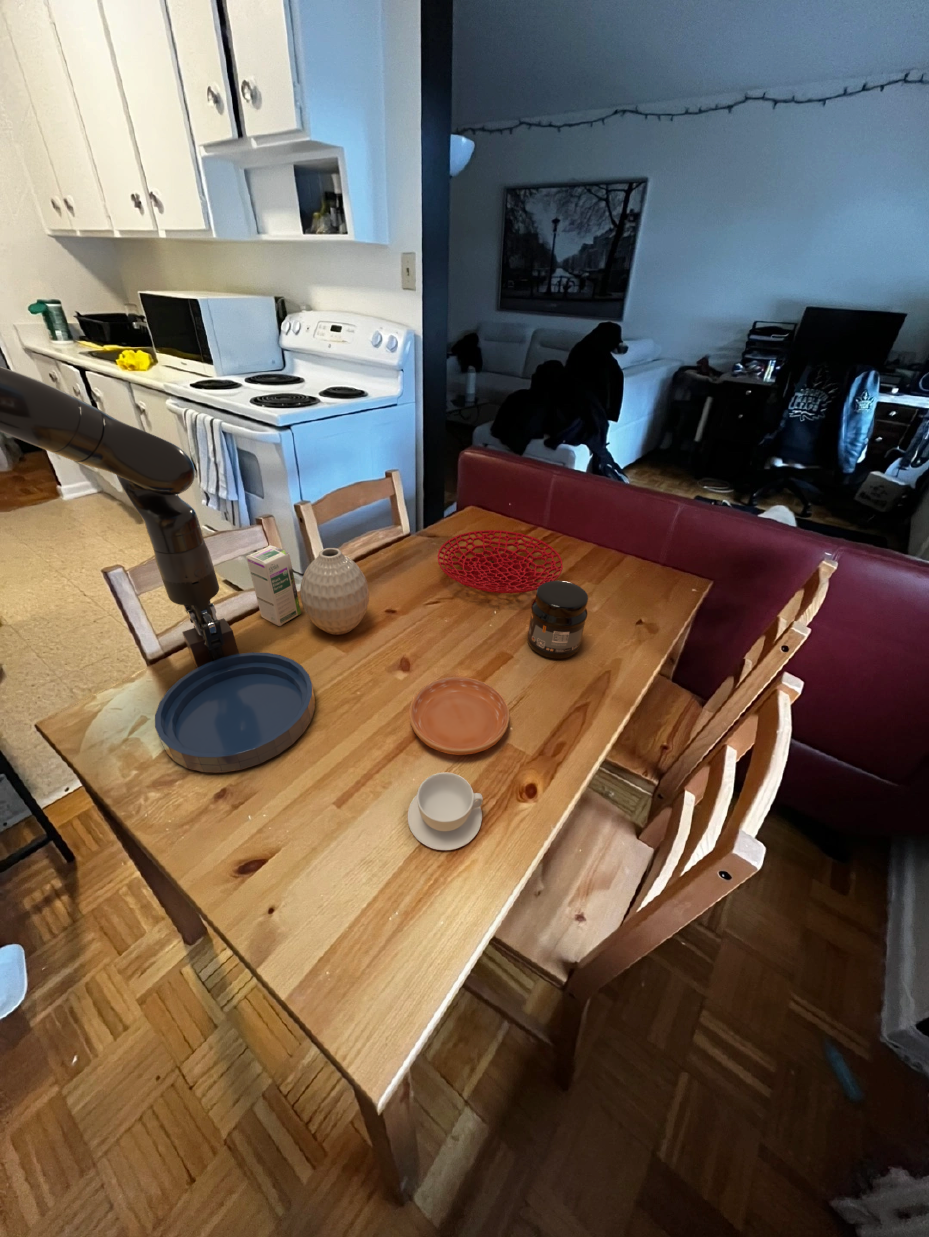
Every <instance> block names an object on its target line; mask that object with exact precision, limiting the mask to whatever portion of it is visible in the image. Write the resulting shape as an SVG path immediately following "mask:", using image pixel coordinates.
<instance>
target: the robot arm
mask: <svg viewBox="0 0 929 1237" xmlns="http://www.w3.org/2000/svg"><path fill="white" fill-rule="evenodd" d="M0 432H1V433H4V434H6V435H8V436H11V437H13V438H16V439H18V440H21V441H23V442H25V443H27V444H30V445H33V446H35V447H38V448H40V449H42V450H45V451H48V452H50V453H53V454H55V455H57V456H60V457H63V458H65V459H68V460H71V461H73V462H76V463H78V464H81V465H85V466H86V467H87V466H88V467H91V468H94V469H99V470H102V471H105V472H108V473H111V474H113V475H115V476H116V477H117V480H118V481H119V483H120V485H121V486H122V489H123V491H124V492H125V494H126V496H127V497H128V499H129V500H130V502H131V504H132V506H133V507H134V509H135V510H136V512H137V513H138V515H139V516H140V518H141V519H142V521H143V523H144V525H145V529H146V533H147V534H148V538H149V541H150V543H151V546H152V549H153V553H154V559H155V563H156V567H157V569H158V571H159V574H160V577H161V580H162V583H163V585H164V586H163V587H165V588H164V589H165V592H166V594H167V597H168V600H170V601H171V602H172V603H174V604H176V605H179V606H183V609H184V611H185V612H186V614H187V617H188V619H189V622H190V623H191V624H193V628H196V631H197V633H198V634H199V635H200V636H202V637H203V640H204V642H205V643H204V644H205V646H206V647H207V650H208V653H209V656H210V659H211V661H214V660H217V659H220V658H223V657H225V655H224V652H223V649H222V645H225V644H224V640H223V635H222V630H221V626H220V624H221V623H220V621H218V620H219V619H218V617H217V610H216V607H215V603H213V602H211V600H212V599H213V598H215V597H216V596H217V595H218V593H219V591H220V584H219V581H218V577H217V574H216V571H215V570H216V569H215V566H214V563H213V560H212V557H211V552H210V550H209V548H208V545H207V543H206V541H205V538H204V535H203V531H202V528H201V523H200V520H199V517H198V515H197V512H196V510H195V509H194V507H193V506H192V505H190V504H189V503H188V502H186V501H185V500H183V499H182V498H181V496H179V495H180V494H182V493H185V492H186V491H188V489H190V488H191V487H192V485H193V484H194V481H195V478H196V477H195V476H196V475H195V474H196V471H195V467H194V463H193V461H192V459H191V458H190V457H189V454H187V453H186V452H185V450H183V449H182V448H180V446H178V445H176V444H175V443H172V442H171V441H168V440H167V439H164V438H161V437H159V436H157V435H154V434H152V433H150V432H148V431H145V430H143V429H141V428H138V427H135V426H134V425H133V426H132V425H130V424H127V423H125V422H123V421H121V420H118V419H117V418H115V417H113V416H111V415H109V414H107V413H106V412H104V411H103V410H101V409H99V408H97V407H95V406H94V405H92V404H89V403H87V402H86V401H84V400H82V399H80V398H78V397H76V396H74V395H71V394H70V393H67V392H65V391H63V390H61V389H60V388H57V387H55V386H53V385H50V384H48V383H46V382H43V381H41V380H38V379H36V378H33V377H31V376H28V375H25V374H23V373H20V372H17V371H14V370H11V369H8V368H5V367H3V366H0ZM199 626H200V627H202V629H200V627H199Z"/></svg>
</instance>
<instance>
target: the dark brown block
mask: <svg viewBox="0 0 929 1237" xmlns="http://www.w3.org/2000/svg"><path fill="white" fill-rule="evenodd" d="M218 621H220V623H221V624H220V626H221V630H222V635H223V640H224V644H225V645H222V649H223V652H224V655H225V657H227V656H231V655H236V654H240V651H239V648H238V644H237V640H236V638H235V633H234V630H233V628H232V627H231V626H230V625H229V623H228V621H227V620H226V619H225V618H224V617H223V618H220V619H218ZM199 627H200V626H199ZM200 629H202V627H200ZM181 633H182V636H183V639H184V641H185V645H186V647H187V649H188V652H189V655H190V659H191V661H192V662H193V664H194V665H195V667H196V669H197V668H198V667H200V666H202V665H204V664H206V663H209V662H212V661H211V659H210V656H209V653H208V650H207V647H206V646H205V644H204V643H205V642H204V640H203V637H202V636H200V635H199V634H198V633H197V631H196V628H194V627H193V628H189V629H186V630H183V631H182V632H181Z"/></svg>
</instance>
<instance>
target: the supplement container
mask: <svg viewBox="0 0 929 1237" xmlns="http://www.w3.org/2000/svg"><path fill="white" fill-rule="evenodd" d="M535 591H536V592H535V597H534V599H533V601H532V603H531V607H530V609H531V610H530V611H531V612H530V618H529V624H528V625H529V626H528V630H527V638H526V640H527V643H528V645H529V647H530V648H531V649H532V650H533V651H534V652H535V653H537V654H539V655H541V656H543V657H546V658H550V659H560V660H561V659H567V658H569V657H571V656H574V655H575V654H576V653H577V652H578V651H579V650H580V648H581V643H582V636H583V633H584V628H585V625H586V621H587V618H588V608H587V606H588V602H589V595H588V593H587V591H585V589H584V588H582V587H581V586H579V585H578V584H576V583H573V582H569V581H565V580H555V581H549V582H546V583H543V584H541V585H540V586H539V587H538V588H537V590H535Z"/></svg>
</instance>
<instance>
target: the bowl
mask: <svg viewBox="0 0 929 1237" xmlns="http://www.w3.org/2000/svg"><path fill="white" fill-rule="evenodd" d="M495 534H499V535H495ZM502 534H503V535H504V534H505V536H502ZM472 535H474V536H475V537H472ZM467 536H468V537H467ZM491 536H492V537H491ZM464 537H466V538H464ZM496 539H497V541H495V540H496ZM526 539H528V540H526ZM470 540H471V541H470ZM478 540H479V541H480V542H481V543H482V544H475V543H474V542H475V541H478ZM501 540H504V541H505V542H503V541H501ZM518 540H519V541H521V542H519V541H518ZM509 541H513V542H509ZM460 542H465V543H466V544H465V545H460ZM447 545H449V546H448V547H447ZM493 545H495V546H493ZM540 545H542V546H544V547H541V546H540ZM469 546H472V547H471V548H469ZM521 546H523V547H524V548H520V547H521ZM508 547H513V548H516V549H515V550H512V549H509V548H508ZM536 548H537V549H536ZM443 549H444V550H445V551H443ZM478 549H482V552H475V550H478ZM488 549H490V550H488ZM528 549H531V550H532V551H529V550H528ZM462 550H465V552H463V551H462ZM547 550H550V552H547ZM518 553H525V555H526V556H523V555H520V554H518ZM535 553H537V554H541V555H539V556H534V554H535ZM457 554H460V556H458V555H457ZM440 555H443V556H440ZM468 555H471V557H467V556H468ZM485 555H486V556H485ZM555 558H557V561H556V560H555ZM549 559H551V560H550V561H548V560H549ZM440 560H442V561H440ZM453 560H455V561H453ZM539 560H542V561H544V563H543V564H537V563H535V562H534V561H539ZM491 561H492V562H491ZM437 563H438V565H439V567H440V568H441V571H442V572H443V573H444V574H445V575H446V576H448V578H450V579H451V580H454V581H455V582H458V584H460V585H463V586H466V587H469V588H472V589H475V590H479V591H483V592H489V593H497V594H520V593H528V592H532V591H533V592H534V591H537V588H538V587H539V586H540V585H541V584H543V583H546V582H549V581H557V579H559V577H560V576H561V574H562V572H563V569H564V566H563V559H562V557H561V555H560V554H559V553H558V552H557V551H556V549H555V548H553V546H551V545H550V544H548V543H547V542H545V541H543V540H541V539H538V538H536V537H534V536H530V535H527V534H523V533H520V532H514V531H507V530H499V529H498V530H497V529H485V530H473V531H468V532H464V533H461V534H458V535H455V536H453V537H452V538H450V539H448V540H447V541H445V542H444V543H443V544H441V546H440V547H439V549H438V553H437ZM557 564H560V565H559V566H557ZM546 565H550V566H547V567H546ZM443 566H444V567H445V568H444V567H443ZM455 566H459V567H460V568H462V569H457V568H456V567H455ZM530 566H531V567H530ZM538 569H539V570H540V569H542V571H537V570H538ZM551 572H553V573H551ZM538 581H539V582H538Z"/></svg>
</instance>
